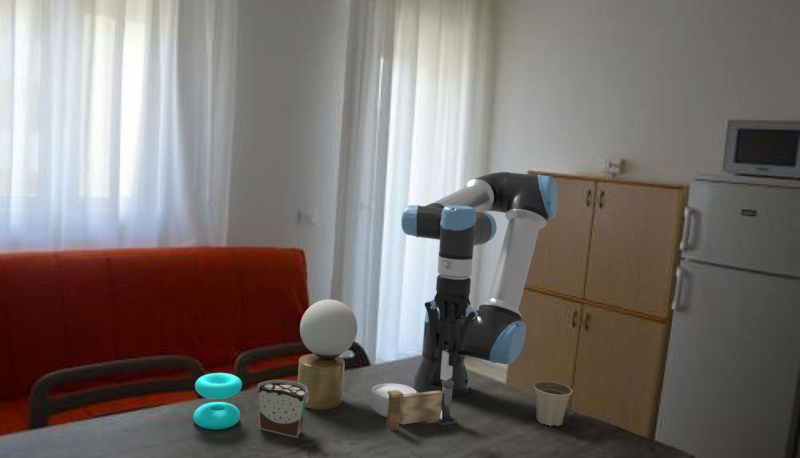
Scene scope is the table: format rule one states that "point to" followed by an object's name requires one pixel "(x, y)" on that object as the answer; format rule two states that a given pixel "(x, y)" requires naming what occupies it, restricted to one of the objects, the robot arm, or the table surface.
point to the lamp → (325, 351)
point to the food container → (282, 406)
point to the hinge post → (446, 403)
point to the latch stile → (393, 409)
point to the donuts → (217, 412)
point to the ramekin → (386, 396)
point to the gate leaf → (420, 407)
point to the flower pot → (551, 402)
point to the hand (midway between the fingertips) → (446, 378)
